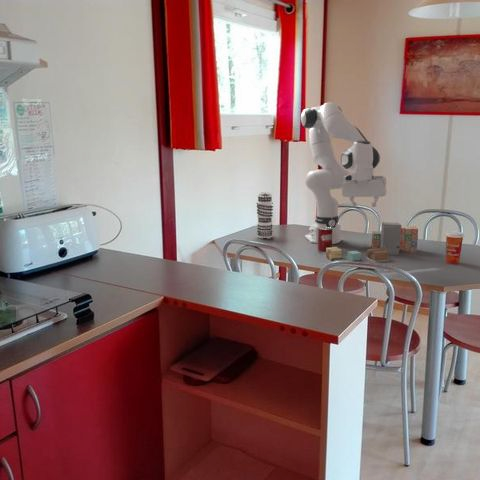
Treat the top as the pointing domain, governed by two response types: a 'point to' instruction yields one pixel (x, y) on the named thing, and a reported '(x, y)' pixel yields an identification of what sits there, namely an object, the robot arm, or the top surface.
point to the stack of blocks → (406, 239)
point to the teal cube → (354, 255)
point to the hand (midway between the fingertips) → (364, 206)
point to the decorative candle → (264, 215)
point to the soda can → (324, 238)
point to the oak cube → (333, 253)
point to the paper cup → (453, 246)
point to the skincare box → (390, 237)
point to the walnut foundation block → (377, 254)
